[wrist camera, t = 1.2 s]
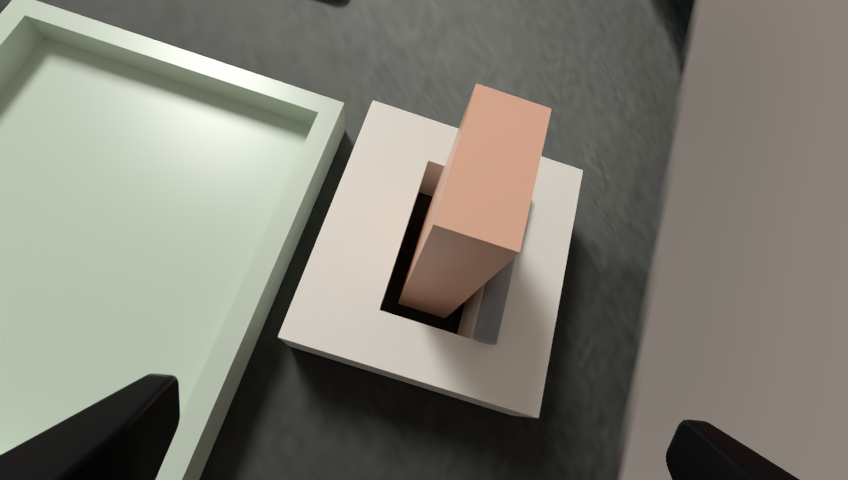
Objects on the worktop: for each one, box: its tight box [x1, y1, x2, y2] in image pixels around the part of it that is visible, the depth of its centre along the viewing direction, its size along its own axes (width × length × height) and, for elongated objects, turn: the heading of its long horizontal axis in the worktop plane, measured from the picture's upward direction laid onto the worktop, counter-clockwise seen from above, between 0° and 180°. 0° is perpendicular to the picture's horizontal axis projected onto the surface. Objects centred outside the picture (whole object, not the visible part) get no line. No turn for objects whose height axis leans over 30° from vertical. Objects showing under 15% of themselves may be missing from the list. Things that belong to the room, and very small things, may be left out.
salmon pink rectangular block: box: [398, 83, 551, 318], centre depth 18 cm, size 5×2×11 cm, turn 164°
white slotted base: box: [278, 100, 583, 418], centre depth 21 cm, size 12×11×4 cm
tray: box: [0, 0, 345, 480], centre depth 20 cm, size 20×17×2 cm
